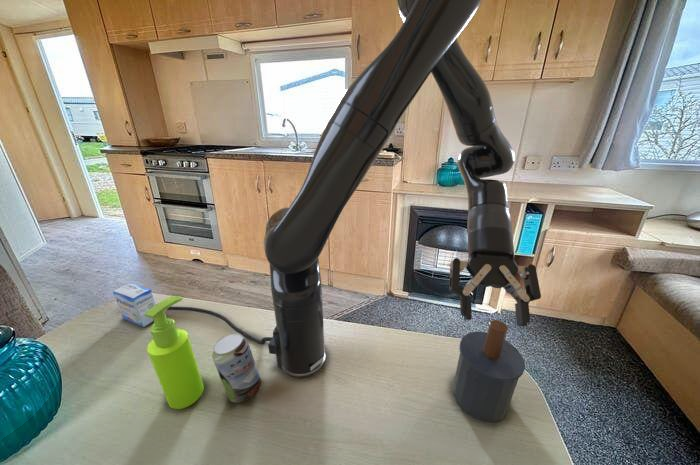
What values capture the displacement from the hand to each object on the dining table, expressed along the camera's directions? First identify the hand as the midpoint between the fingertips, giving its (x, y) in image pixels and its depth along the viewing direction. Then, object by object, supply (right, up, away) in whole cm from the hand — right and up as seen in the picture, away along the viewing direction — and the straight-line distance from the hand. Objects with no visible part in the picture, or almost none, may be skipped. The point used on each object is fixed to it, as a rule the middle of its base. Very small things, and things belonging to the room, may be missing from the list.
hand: (494, 322), depth 46 cm
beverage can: (-45, -15, +6) cm, 48 cm away
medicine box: (-78, -7, +25) cm, 82 cm away
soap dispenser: (-55, -15, +6) cm, 57 cm away
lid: (0, -6, +1) cm, 6 cm away
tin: (0, -16, +5) cm, 16 cm away
